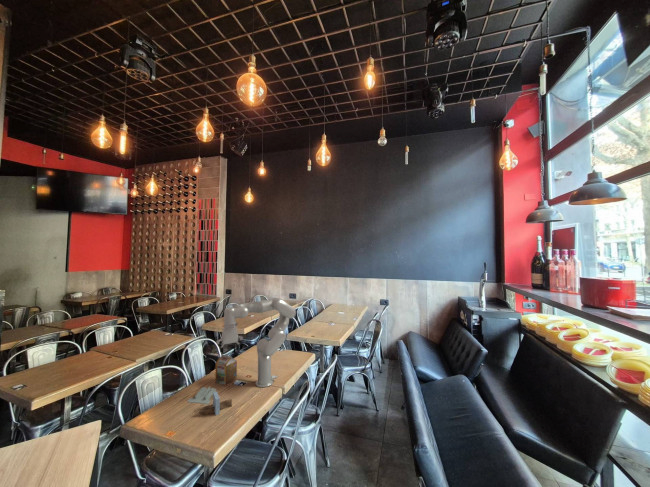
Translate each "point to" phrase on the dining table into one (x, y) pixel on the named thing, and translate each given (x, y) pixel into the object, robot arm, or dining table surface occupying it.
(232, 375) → the milk carton
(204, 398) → the metal bracket
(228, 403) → the walnut board
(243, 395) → the dining table surface
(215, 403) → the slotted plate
